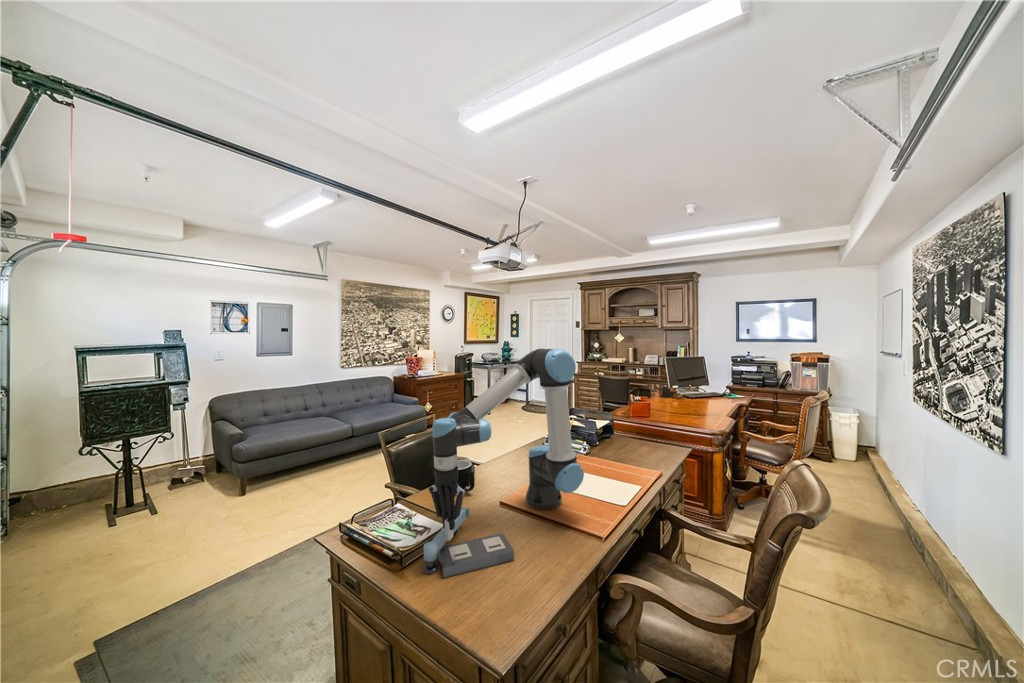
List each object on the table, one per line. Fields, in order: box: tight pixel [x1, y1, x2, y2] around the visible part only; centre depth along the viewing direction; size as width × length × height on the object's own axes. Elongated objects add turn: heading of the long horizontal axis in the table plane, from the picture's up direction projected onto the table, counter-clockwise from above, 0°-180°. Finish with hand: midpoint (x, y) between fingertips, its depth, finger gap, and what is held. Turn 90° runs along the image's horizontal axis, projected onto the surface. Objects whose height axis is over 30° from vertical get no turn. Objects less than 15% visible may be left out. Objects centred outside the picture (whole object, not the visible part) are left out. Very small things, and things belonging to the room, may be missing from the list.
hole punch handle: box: [423, 506, 471, 562], centre depth 122 cm, size 27×4×4 cm, turn 163°
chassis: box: [437, 532, 515, 579], centre depth 116 cm, size 22×11×3 cm, turn 110°
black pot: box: [455, 459, 476, 495], centre depth 166 cm, size 16×16×12 cm
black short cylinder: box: [422, 559, 440, 576], centre depth 111 cm, size 5×5×4 cm
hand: (449, 538), depth 119 cm, fingers closed
